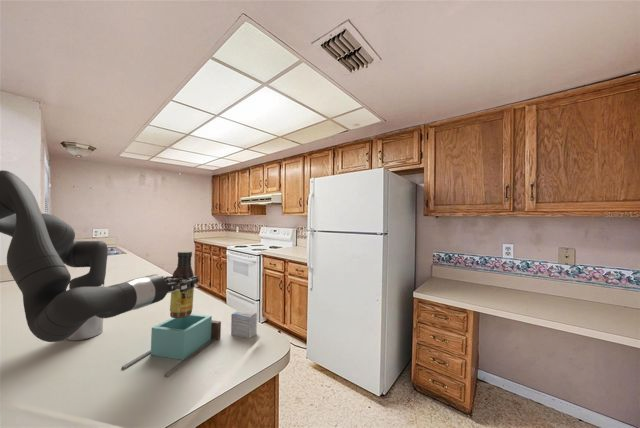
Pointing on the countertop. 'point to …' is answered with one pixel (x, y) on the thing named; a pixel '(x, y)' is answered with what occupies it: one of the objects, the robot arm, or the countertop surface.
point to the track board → (214, 336)
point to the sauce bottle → (179, 300)
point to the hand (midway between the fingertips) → (188, 278)
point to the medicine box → (244, 323)
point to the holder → (180, 336)
